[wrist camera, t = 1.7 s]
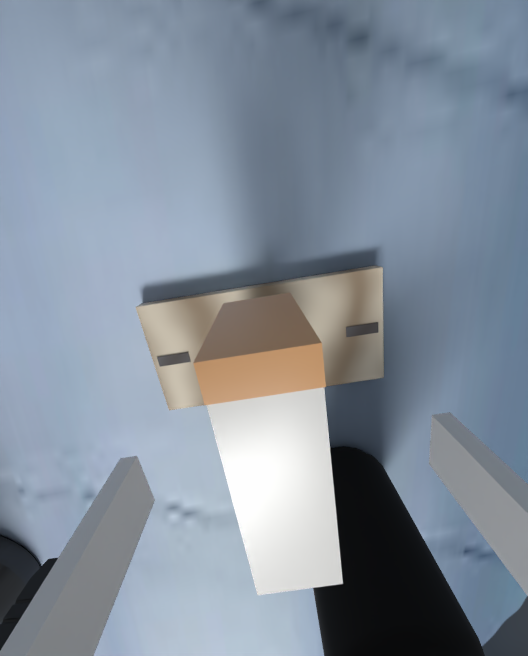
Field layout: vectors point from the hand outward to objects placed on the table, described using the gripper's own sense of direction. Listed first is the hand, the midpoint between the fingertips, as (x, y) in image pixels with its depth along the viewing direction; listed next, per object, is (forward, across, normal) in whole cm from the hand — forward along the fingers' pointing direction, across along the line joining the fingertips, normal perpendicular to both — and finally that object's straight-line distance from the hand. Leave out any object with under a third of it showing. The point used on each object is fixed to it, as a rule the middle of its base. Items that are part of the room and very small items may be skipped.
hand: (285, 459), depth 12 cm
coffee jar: (+16, +6, -20) cm, 26 cm away
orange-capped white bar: (+9, 0, 0) cm, 10 cm away
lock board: (+15, 0, 0) cm, 15 cm away
